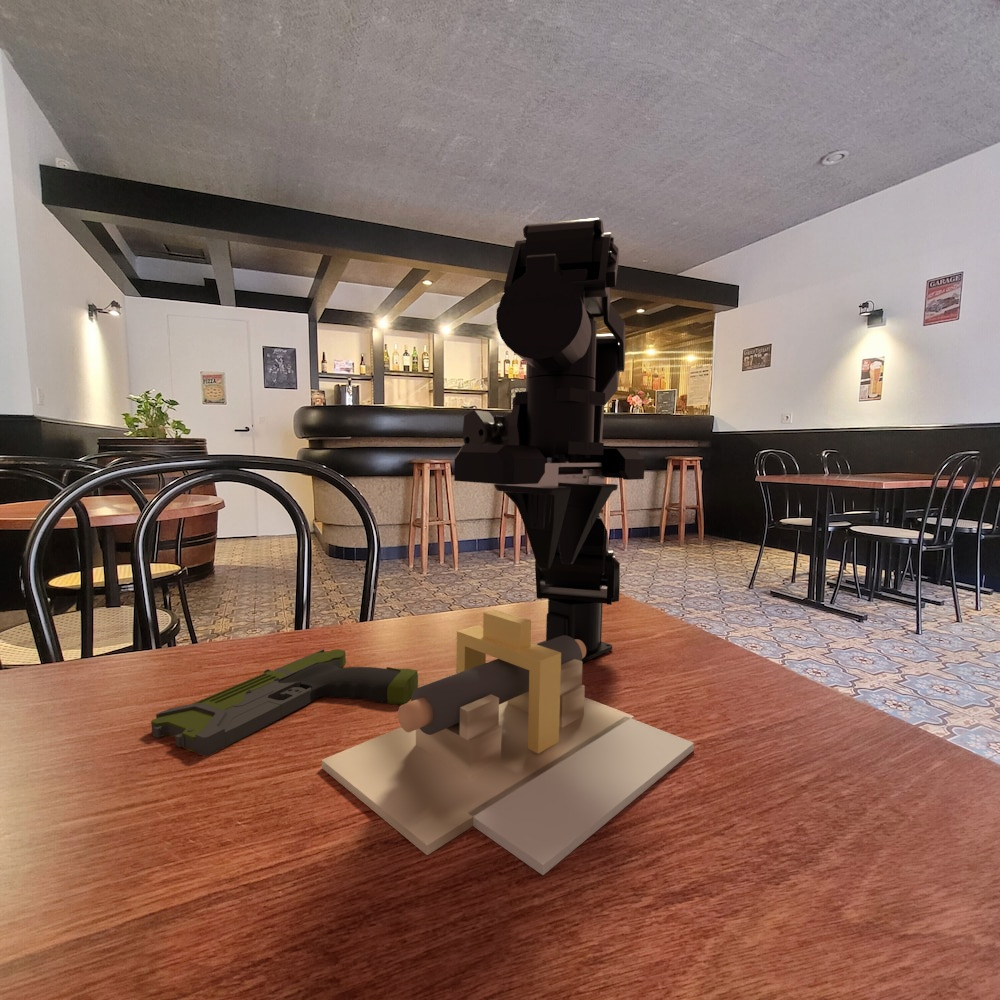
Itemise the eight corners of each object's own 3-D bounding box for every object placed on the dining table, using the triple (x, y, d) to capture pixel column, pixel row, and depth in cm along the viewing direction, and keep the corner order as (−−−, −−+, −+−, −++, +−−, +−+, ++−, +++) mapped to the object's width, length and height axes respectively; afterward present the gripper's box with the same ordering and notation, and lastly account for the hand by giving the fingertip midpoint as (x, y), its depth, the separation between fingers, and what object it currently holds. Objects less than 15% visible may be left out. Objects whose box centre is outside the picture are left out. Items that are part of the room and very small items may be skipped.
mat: (625, 722, 47) (625, 716, 47) (693, 750, 42) (693, 742, 42) (467, 822, 34) (467, 812, 34) (542, 875, 30) (543, 864, 30)
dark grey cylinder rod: (563, 661, 52) (564, 627, 51) (592, 671, 49) (593, 636, 49) (391, 732, 38) (391, 687, 38) (420, 750, 36) (420, 703, 35)
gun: (272, 798, 37) (142, 744, 44) (435, 689, 54) (322, 663, 61) (270, 761, 37) (139, 713, 44) (434, 663, 53) (321, 640, 60)
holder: (527, 680, 55) (528, 629, 54) (633, 723, 47) (636, 663, 46) (321, 767, 39) (321, 697, 39) (427, 855, 31) (427, 766, 30)
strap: (476, 702, 48) (478, 602, 47) (558, 741, 42) (561, 626, 41) (455, 711, 46) (457, 607, 45) (538, 753, 40) (541, 633, 39)
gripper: (554, 396, 58) (551, 542, 59) (410, 376, 45) (409, 565, 46) (650, 388, 50) (643, 557, 52) (510, 361, 37) (506, 590, 38)
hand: (555, 565), depth 47 cm, fingers open, 3 cm apart
